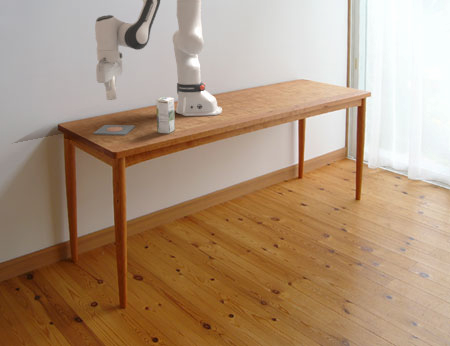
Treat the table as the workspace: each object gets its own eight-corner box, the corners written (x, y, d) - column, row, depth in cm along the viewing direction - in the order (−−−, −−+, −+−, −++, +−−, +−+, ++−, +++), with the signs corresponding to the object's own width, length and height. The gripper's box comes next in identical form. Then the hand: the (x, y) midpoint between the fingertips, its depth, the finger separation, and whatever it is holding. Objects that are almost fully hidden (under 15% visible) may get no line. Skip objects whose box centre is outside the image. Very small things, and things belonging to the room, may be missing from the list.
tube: (117, 98, 235) (115, 74, 231) (114, 100, 231) (112, 76, 228) (108, 97, 235) (106, 74, 232) (105, 99, 232) (103, 76, 228)
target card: (135, 127, 243) (134, 125, 243) (125, 135, 231) (124, 133, 231) (105, 126, 245) (105, 124, 245) (93, 134, 233) (93, 132, 233)
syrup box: (163, 129, 239) (161, 96, 234) (175, 130, 237) (174, 97, 232) (157, 132, 234) (155, 99, 229) (169, 134, 232) (167, 100, 227)
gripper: (106, 60, 217) (108, 94, 222) (123, 53, 236) (126, 85, 241) (91, 60, 218) (94, 94, 223) (109, 52, 237) (112, 84, 242)
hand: (110, 89), depth 232 cm, fingers closed on tube, 4 cm apart
